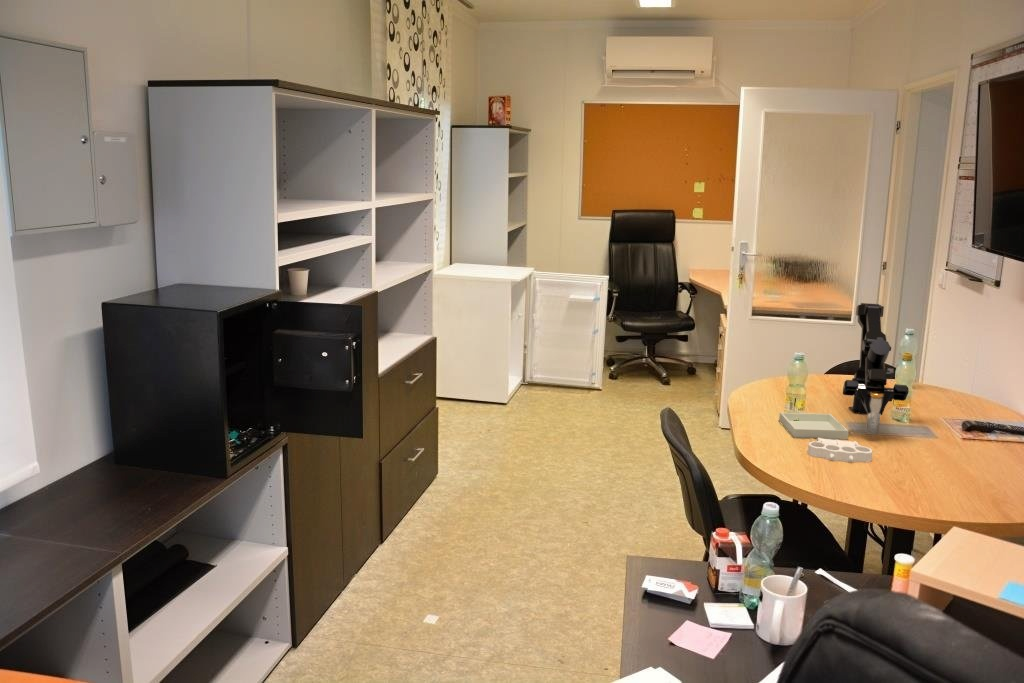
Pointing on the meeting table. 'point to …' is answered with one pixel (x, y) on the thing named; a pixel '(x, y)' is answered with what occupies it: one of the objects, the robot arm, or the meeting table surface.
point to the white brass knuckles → (839, 450)
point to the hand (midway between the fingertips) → (874, 413)
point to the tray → (813, 426)
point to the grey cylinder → (874, 412)
